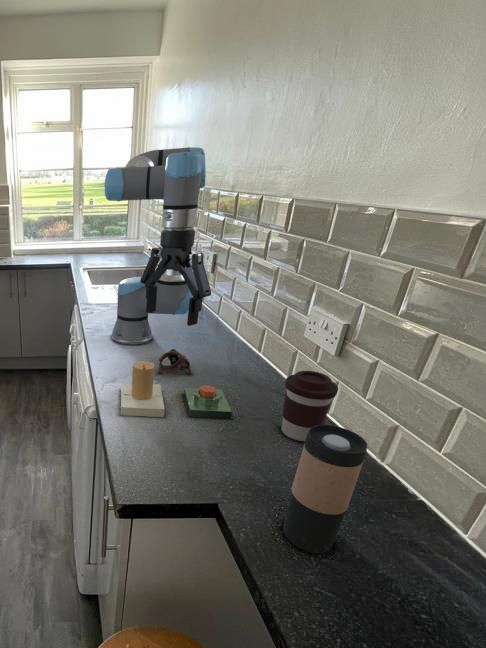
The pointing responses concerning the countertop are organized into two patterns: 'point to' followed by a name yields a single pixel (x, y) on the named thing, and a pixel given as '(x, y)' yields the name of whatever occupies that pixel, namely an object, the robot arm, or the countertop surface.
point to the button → (207, 391)
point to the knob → (142, 380)
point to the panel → (142, 402)
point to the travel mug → (323, 486)
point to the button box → (206, 404)
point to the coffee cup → (306, 402)
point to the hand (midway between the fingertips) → (170, 317)
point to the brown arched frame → (174, 362)
